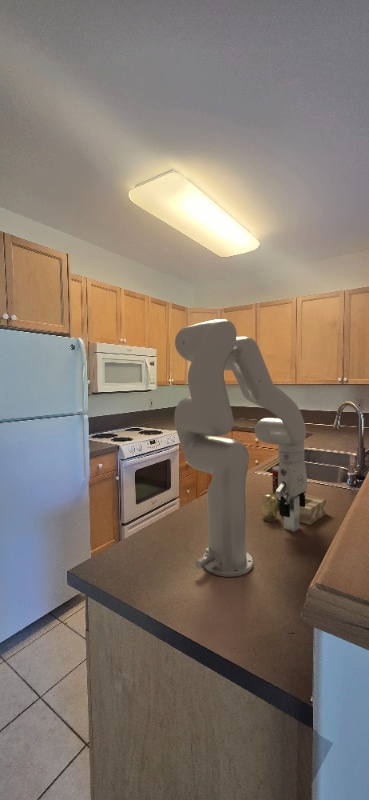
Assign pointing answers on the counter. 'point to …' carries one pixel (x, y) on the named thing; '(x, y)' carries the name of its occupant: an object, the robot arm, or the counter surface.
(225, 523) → the robot arm
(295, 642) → the counter surface
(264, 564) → the counter surface
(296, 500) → the square bit
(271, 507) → the round bit
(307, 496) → the socket block
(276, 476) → the canned food
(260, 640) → the counter surface
